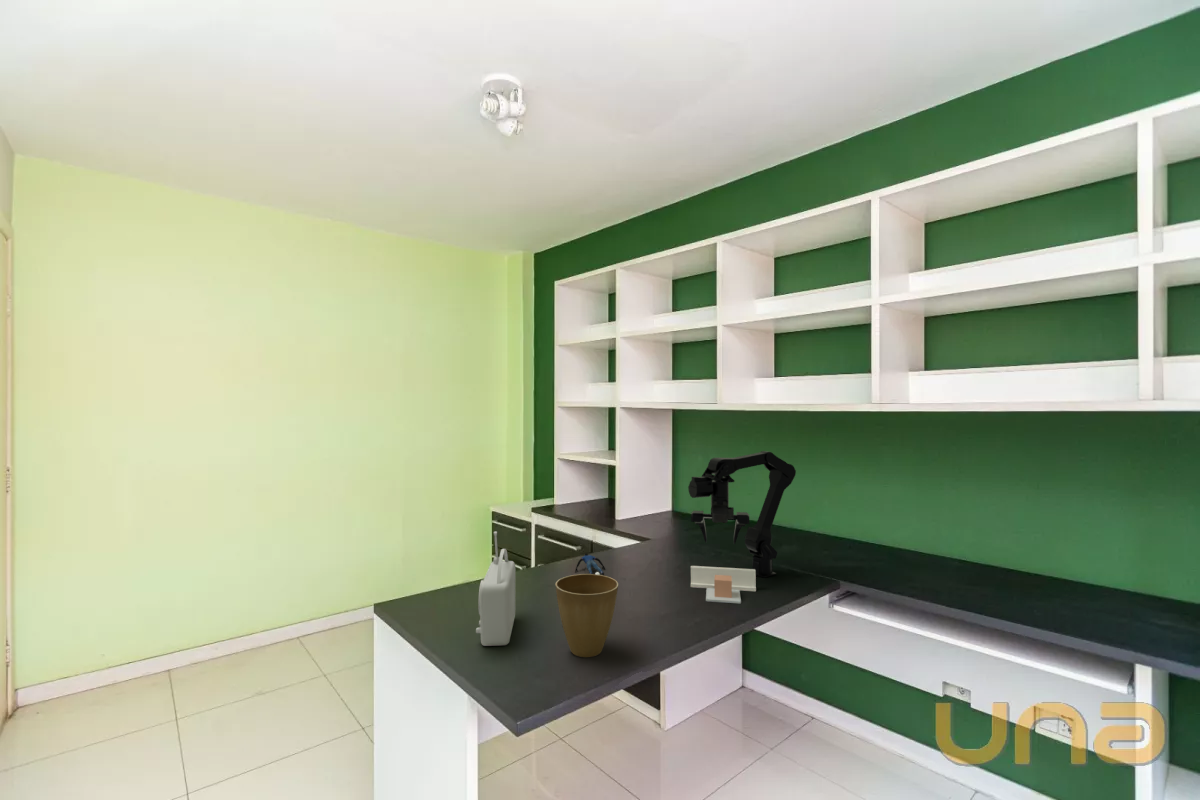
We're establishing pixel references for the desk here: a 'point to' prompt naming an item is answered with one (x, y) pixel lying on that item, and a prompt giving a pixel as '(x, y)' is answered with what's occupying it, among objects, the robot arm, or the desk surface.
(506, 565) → the radio
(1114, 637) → the desk surface
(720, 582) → the plain cardboard-brown cube
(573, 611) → the plant pot
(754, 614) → the desk surface
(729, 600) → the pad
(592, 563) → the person figurine
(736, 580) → the off-white ledge rack
